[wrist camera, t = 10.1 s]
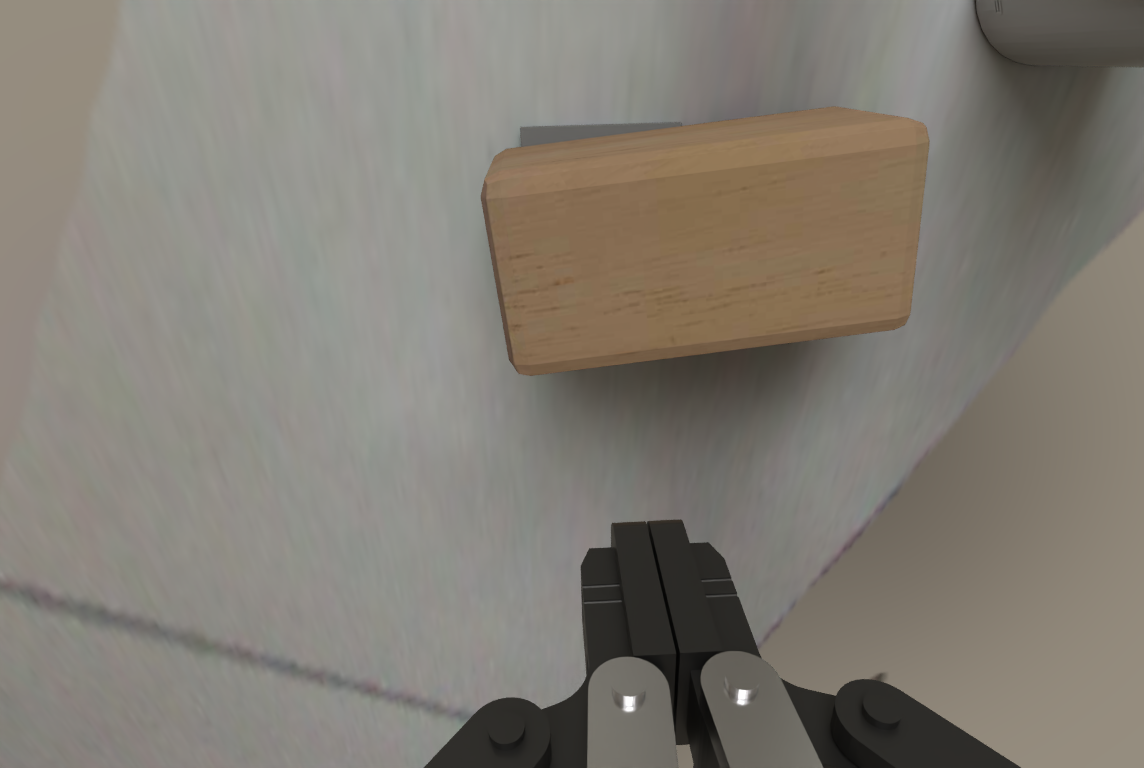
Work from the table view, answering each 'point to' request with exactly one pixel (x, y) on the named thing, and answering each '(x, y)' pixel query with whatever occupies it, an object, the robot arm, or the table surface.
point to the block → (705, 237)
